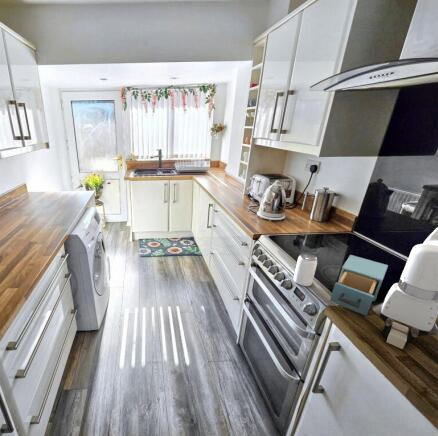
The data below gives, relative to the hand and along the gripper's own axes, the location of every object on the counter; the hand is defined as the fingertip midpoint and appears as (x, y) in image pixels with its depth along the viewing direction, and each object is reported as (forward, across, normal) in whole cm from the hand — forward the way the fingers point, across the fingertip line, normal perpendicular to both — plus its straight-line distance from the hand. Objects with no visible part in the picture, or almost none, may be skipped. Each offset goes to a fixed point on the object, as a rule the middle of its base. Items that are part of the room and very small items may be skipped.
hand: (396, 338), depth 71 cm
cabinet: (0, +13, -23) cm, 26 cm away
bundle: (0, 0, 0) cm, 0 cm away
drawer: (-1, +13, -9) cm, 15 cm away
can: (0, +28, -11) cm, 31 cm away
